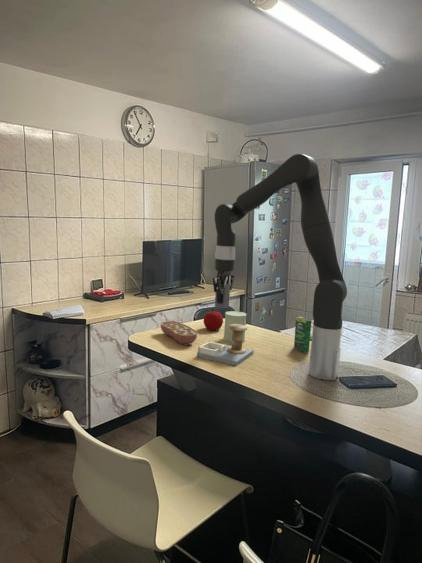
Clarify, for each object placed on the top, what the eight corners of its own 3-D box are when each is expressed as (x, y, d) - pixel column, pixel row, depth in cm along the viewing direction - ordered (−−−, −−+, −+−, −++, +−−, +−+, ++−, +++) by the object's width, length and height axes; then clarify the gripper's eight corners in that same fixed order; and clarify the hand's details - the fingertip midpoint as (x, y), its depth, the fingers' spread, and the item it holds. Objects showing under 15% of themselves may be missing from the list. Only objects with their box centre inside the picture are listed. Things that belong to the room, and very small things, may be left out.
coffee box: (292, 347, 171) (295, 316, 169) (299, 346, 172) (301, 316, 170) (302, 353, 164) (305, 321, 162) (309, 353, 165) (312, 320, 163)
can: (248, 339, 178) (250, 312, 177) (238, 344, 171) (240, 316, 169) (230, 335, 183) (231, 309, 181) (219, 339, 175) (221, 312, 174)
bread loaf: (156, 333, 180) (157, 322, 180) (177, 331, 185) (177, 320, 185) (180, 348, 161) (181, 336, 160) (202, 346, 166) (203, 334, 165)
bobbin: (248, 350, 158) (250, 326, 157) (241, 355, 152) (243, 329, 151) (231, 346, 161) (233, 323, 160) (224, 351, 155) (225, 326, 154)
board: (253, 353, 159) (253, 345, 159) (236, 365, 145) (237, 356, 145) (216, 346, 166) (216, 337, 166) (196, 356, 152) (197, 347, 152)
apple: (215, 333, 185) (216, 311, 184) (198, 329, 190) (200, 308, 189) (226, 329, 193) (227, 308, 192) (209, 325, 198) (211, 305, 196)
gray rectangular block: (228, 306, 160) (230, 279, 158) (224, 308, 156) (225, 280, 155) (219, 305, 162) (221, 278, 160) (214, 306, 158) (216, 279, 157)
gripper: (225, 259, 148) (222, 306, 151) (241, 257, 161) (239, 301, 163) (207, 258, 152) (204, 303, 154) (224, 256, 164) (222, 298, 167)
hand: (222, 302), depth 159 cm, fingers closed on gray rectangular block, 4 cm apart
